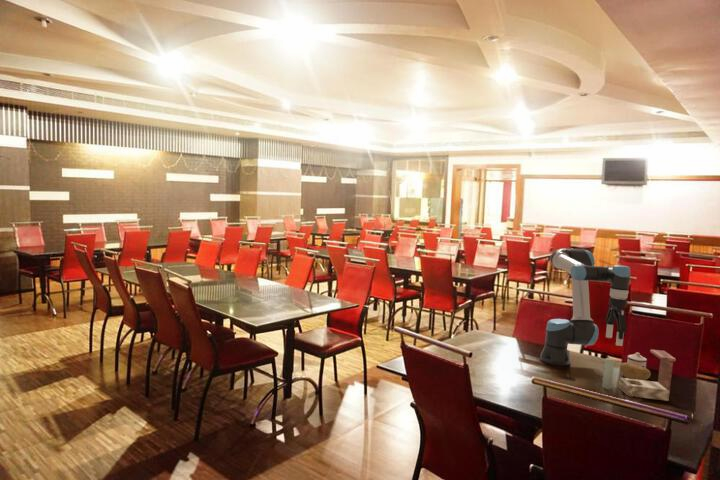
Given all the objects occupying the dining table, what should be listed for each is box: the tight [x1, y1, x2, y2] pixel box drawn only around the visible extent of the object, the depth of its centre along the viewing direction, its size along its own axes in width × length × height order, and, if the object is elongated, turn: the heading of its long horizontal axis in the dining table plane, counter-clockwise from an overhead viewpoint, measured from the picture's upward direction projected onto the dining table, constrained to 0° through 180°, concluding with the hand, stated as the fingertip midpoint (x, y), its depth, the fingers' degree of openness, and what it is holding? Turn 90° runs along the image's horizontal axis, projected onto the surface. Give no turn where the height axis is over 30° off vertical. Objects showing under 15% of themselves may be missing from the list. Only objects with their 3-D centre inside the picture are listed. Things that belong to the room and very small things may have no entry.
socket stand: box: [618, 349, 677, 402], centre depth 224 cm, size 18×12×20 cm, turn 80°
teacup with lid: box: [626, 352, 648, 369], centre depth 253 cm, size 12×9×12 cm
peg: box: [602, 357, 615, 390], centre depth 230 cm, size 4×4×14 cm
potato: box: [619, 362, 652, 381], centre depth 243 cm, size 10×14×8 cm
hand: (613, 341), depth 229 cm, fingers open, 13 cm apart
